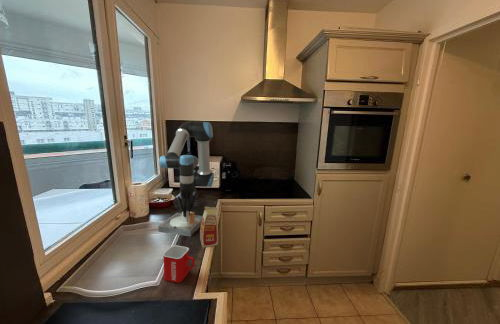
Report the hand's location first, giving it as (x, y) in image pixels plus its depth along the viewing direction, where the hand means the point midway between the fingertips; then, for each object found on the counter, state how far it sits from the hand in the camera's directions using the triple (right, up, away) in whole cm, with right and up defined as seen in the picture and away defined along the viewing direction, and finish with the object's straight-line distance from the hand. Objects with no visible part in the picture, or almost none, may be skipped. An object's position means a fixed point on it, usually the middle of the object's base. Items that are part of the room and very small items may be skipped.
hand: (186, 221), depth 126 cm
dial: (-4, -2, +5) cm, 6 cm away
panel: (-4, -4, +5) cm, 8 cm away
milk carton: (+15, -8, -11) cm, 20 cm away
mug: (+9, -12, -37) cm, 40 cm away
